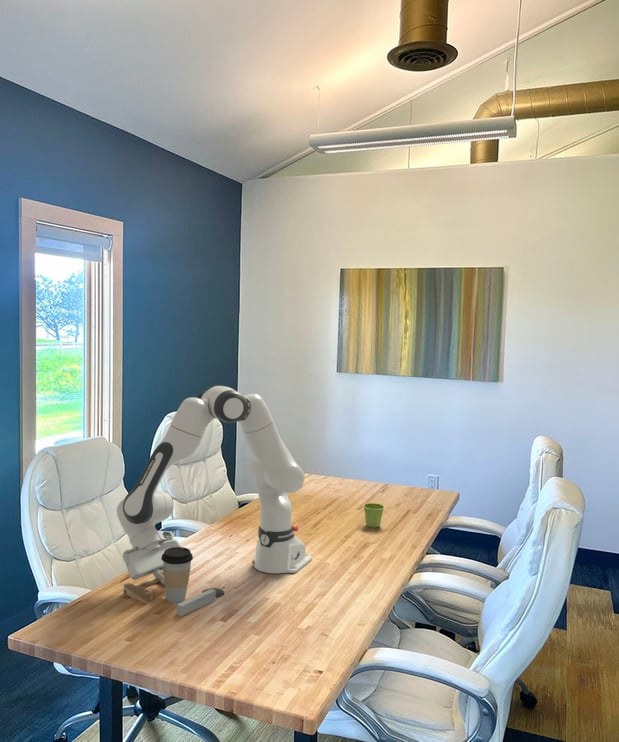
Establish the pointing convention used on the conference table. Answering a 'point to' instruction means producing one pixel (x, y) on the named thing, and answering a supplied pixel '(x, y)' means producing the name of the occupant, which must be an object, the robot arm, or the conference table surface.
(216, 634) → the conference table surface
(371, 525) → the plant pot
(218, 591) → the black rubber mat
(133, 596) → the oak cubby
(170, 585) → the coffee cup
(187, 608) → the bar
